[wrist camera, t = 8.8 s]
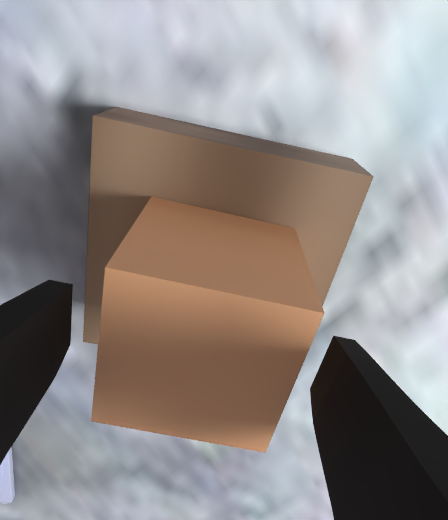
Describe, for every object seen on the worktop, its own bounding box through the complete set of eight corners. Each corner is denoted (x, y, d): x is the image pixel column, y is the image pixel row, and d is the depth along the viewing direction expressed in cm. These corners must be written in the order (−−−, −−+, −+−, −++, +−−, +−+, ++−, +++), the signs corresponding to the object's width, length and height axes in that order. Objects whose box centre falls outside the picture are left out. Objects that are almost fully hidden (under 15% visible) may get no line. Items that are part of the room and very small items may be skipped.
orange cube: (134, 315, 15) (91, 421, 11) (151, 196, 13) (105, 267, 8) (257, 340, 15) (265, 452, 11) (295, 228, 13) (324, 313, 9)
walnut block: (105, 301, 18) (83, 341, 16) (119, 105, 14) (92, 115, 12) (285, 335, 19) (293, 379, 16) (349, 156, 15) (373, 176, 12)
